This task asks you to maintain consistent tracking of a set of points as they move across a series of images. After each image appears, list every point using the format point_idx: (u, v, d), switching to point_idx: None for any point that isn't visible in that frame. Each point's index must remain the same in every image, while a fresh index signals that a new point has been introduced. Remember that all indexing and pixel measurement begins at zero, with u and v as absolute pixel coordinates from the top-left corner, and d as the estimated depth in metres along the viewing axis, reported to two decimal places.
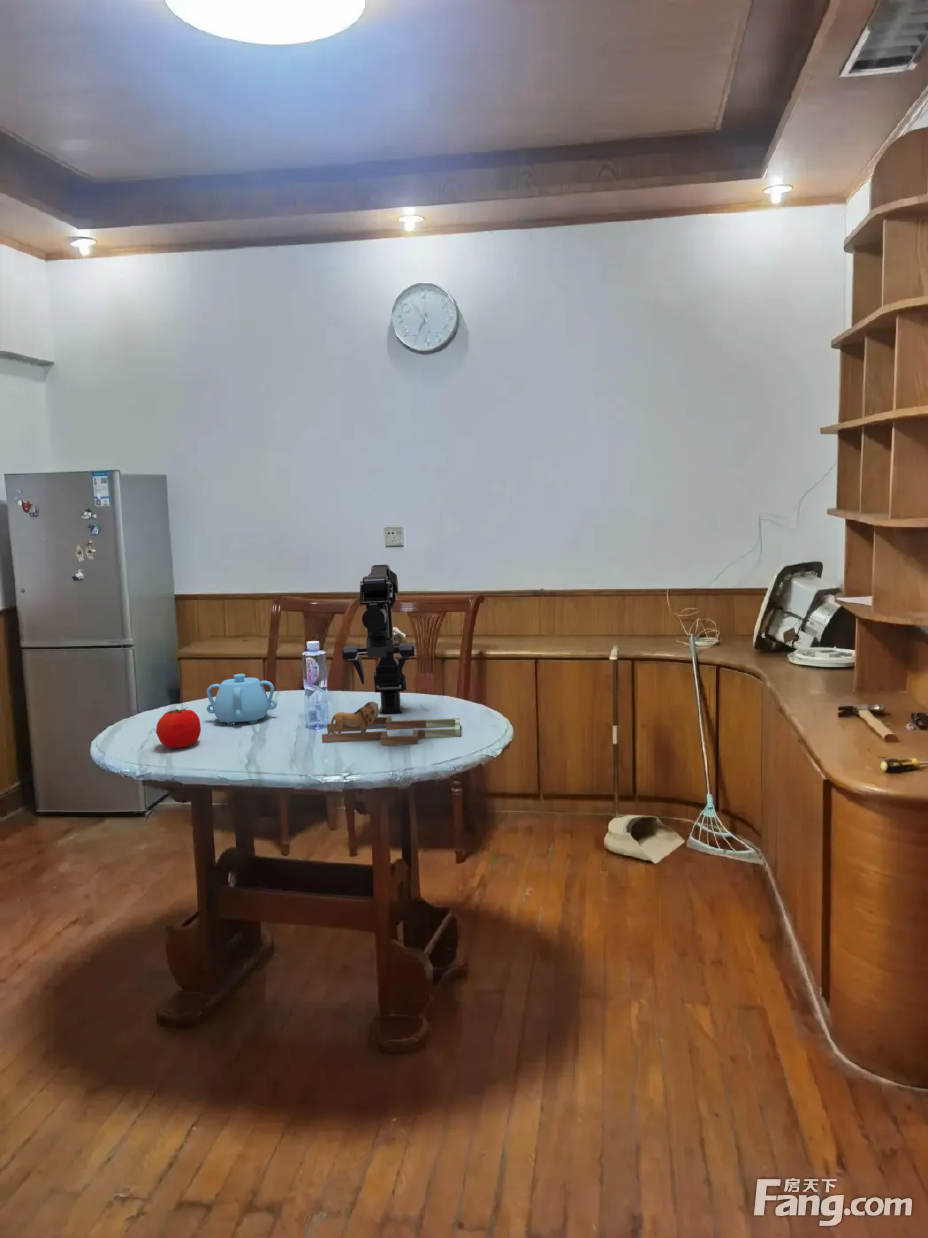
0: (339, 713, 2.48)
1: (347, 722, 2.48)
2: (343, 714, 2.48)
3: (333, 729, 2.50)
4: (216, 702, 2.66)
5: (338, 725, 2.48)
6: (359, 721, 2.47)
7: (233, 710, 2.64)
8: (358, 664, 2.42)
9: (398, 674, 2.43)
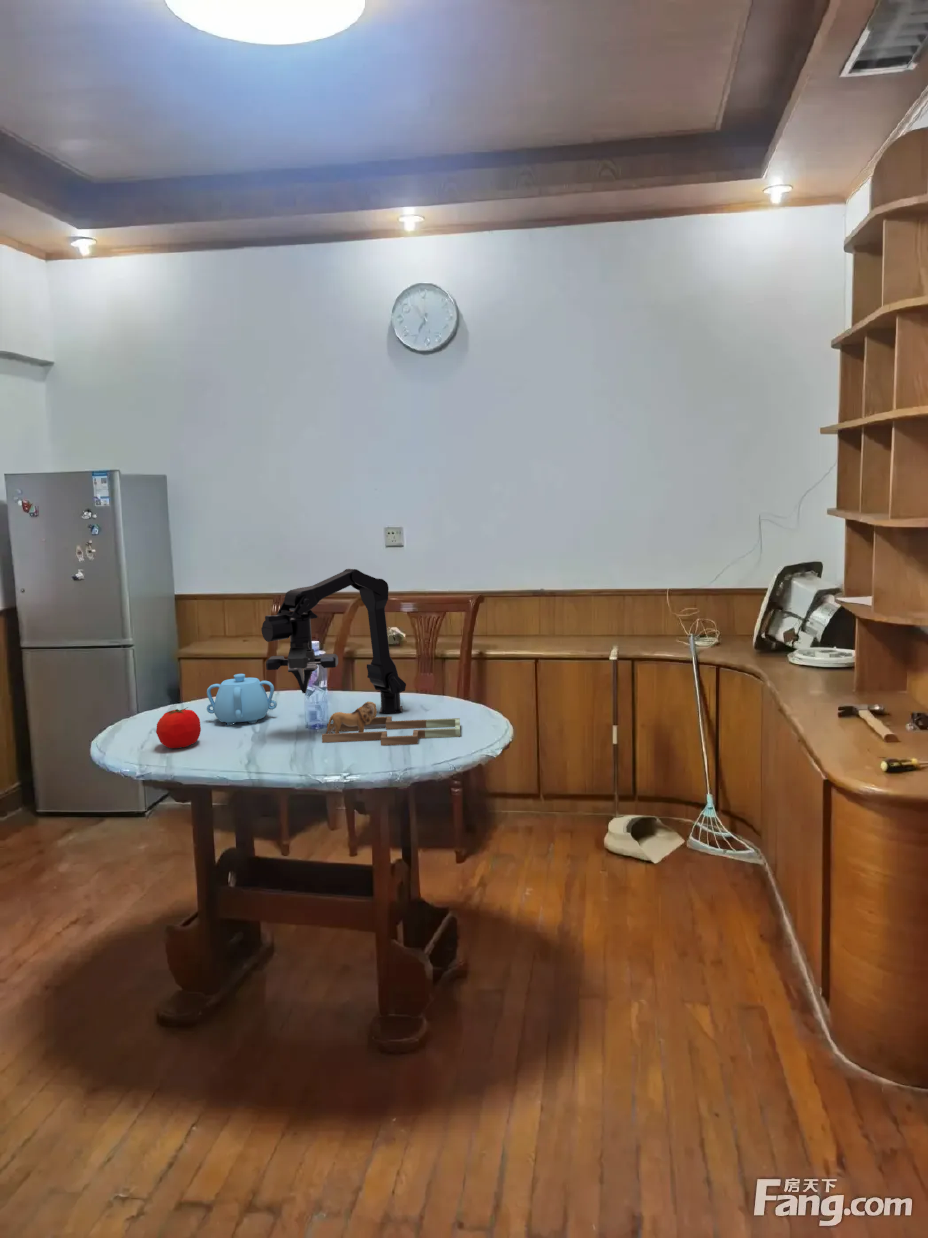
0: (337, 713, 2.48)
1: (345, 722, 2.48)
2: (341, 714, 2.47)
3: (331, 729, 2.50)
4: (216, 702, 2.66)
5: (336, 725, 2.48)
6: (356, 721, 2.47)
7: (233, 710, 2.64)
8: (298, 674, 2.51)
9: (304, 685, 2.52)
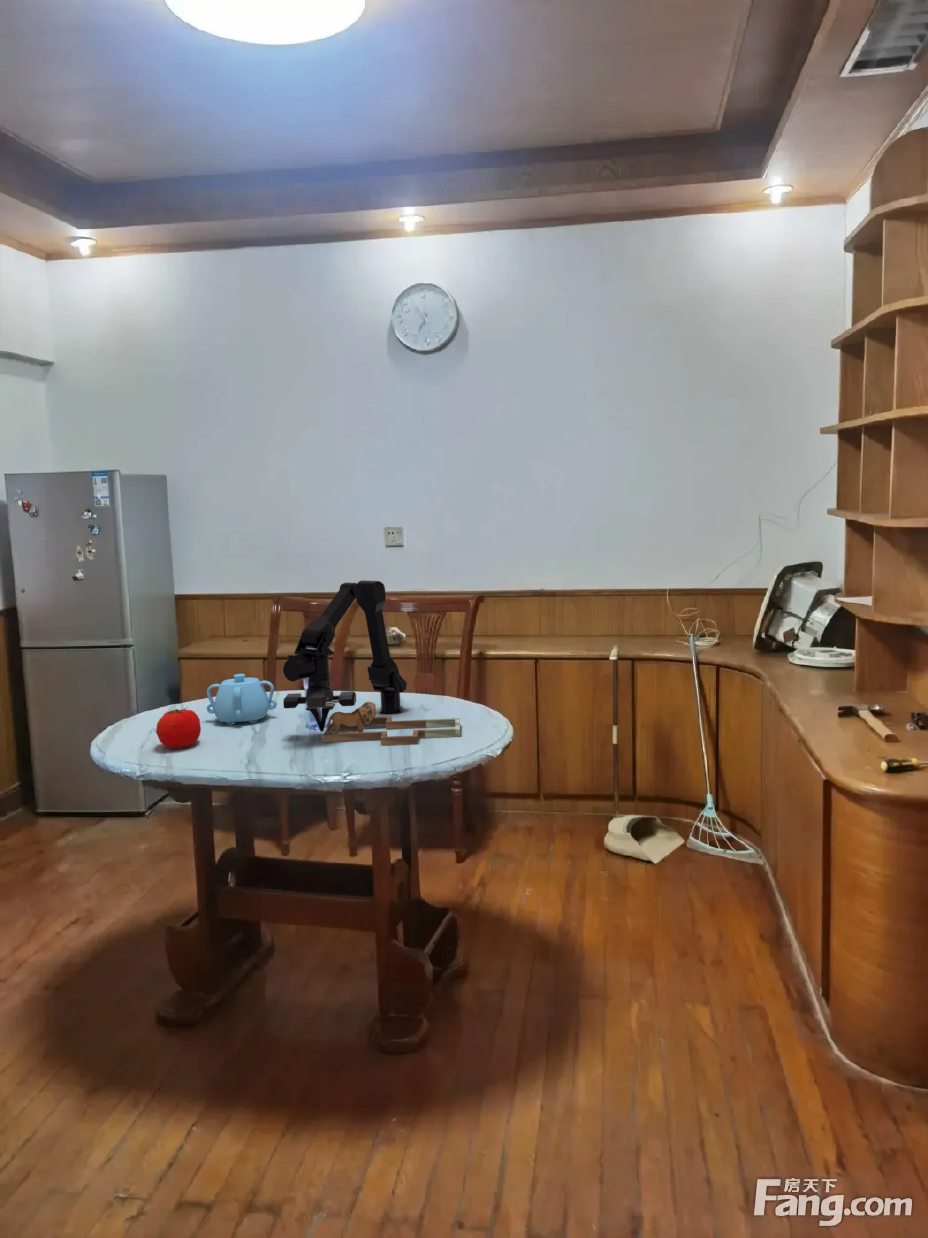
0: (336, 713, 2.48)
1: (344, 722, 2.47)
2: (340, 714, 2.47)
3: (330, 729, 2.50)
4: (216, 702, 2.66)
5: (335, 725, 2.47)
6: (356, 721, 2.47)
7: (233, 710, 2.64)
8: (316, 712, 2.47)
9: (322, 723, 2.48)
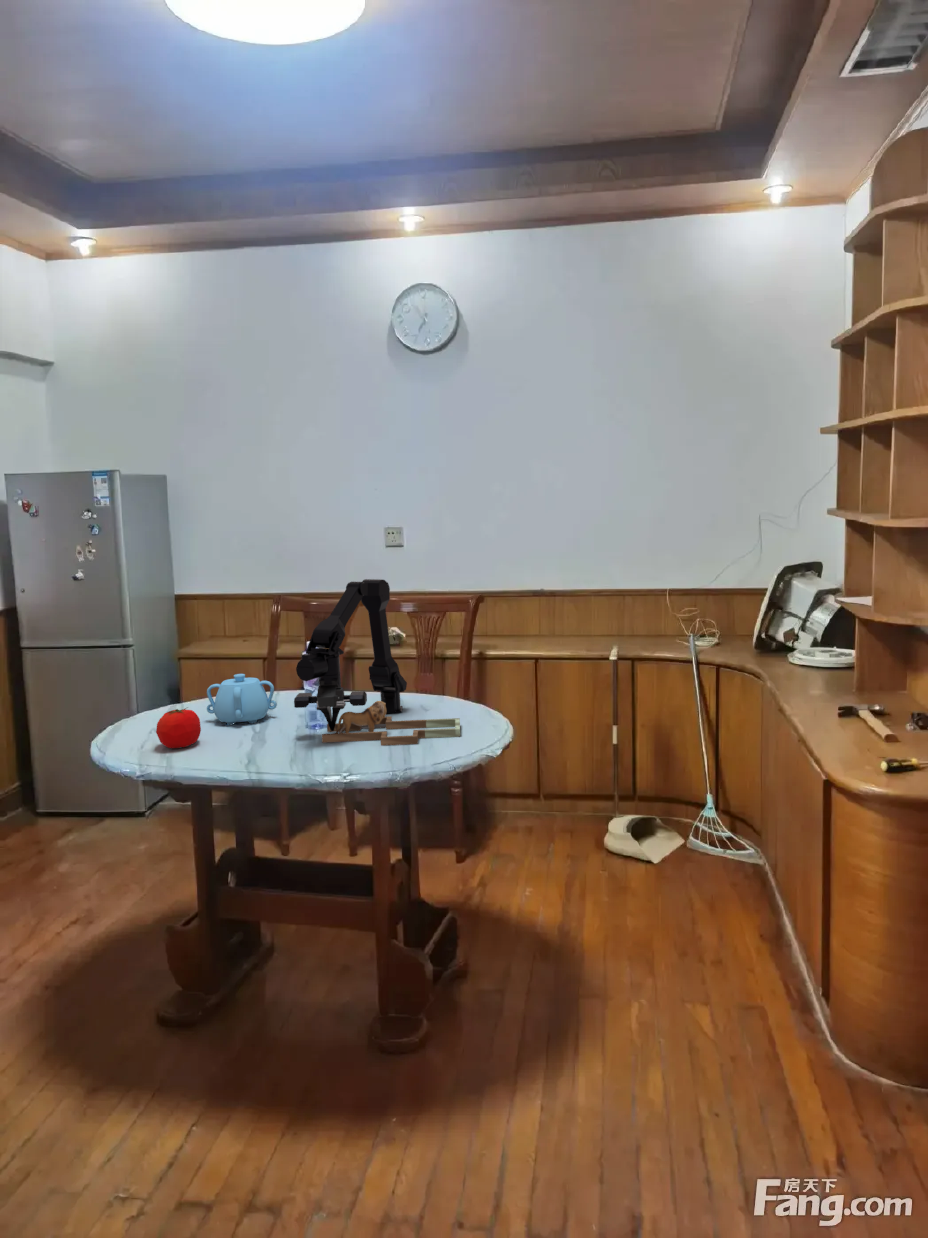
0: (347, 713, 2.48)
1: (355, 722, 2.47)
2: (351, 714, 2.47)
3: (340, 729, 2.50)
4: (216, 702, 2.66)
5: (346, 725, 2.47)
6: (366, 721, 2.47)
7: (233, 710, 2.64)
8: (327, 712, 2.47)
9: (332, 723, 2.48)
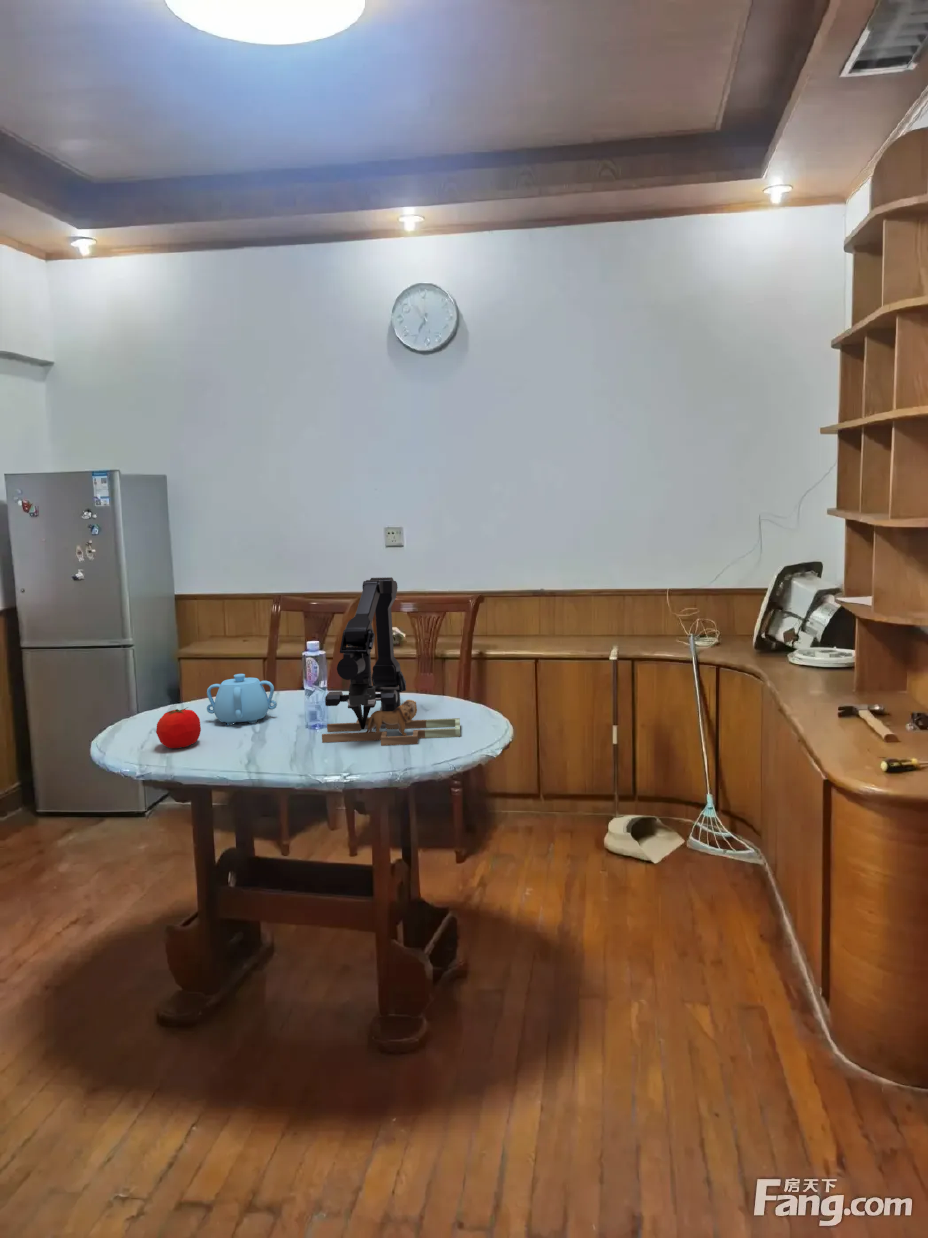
0: (377, 711, 2.48)
1: (386, 720, 2.47)
2: (382, 712, 2.47)
3: (371, 728, 2.50)
4: (216, 702, 2.66)
5: (377, 724, 2.47)
6: (397, 719, 2.47)
7: (233, 710, 2.64)
8: (358, 710, 2.47)
9: (363, 721, 2.48)
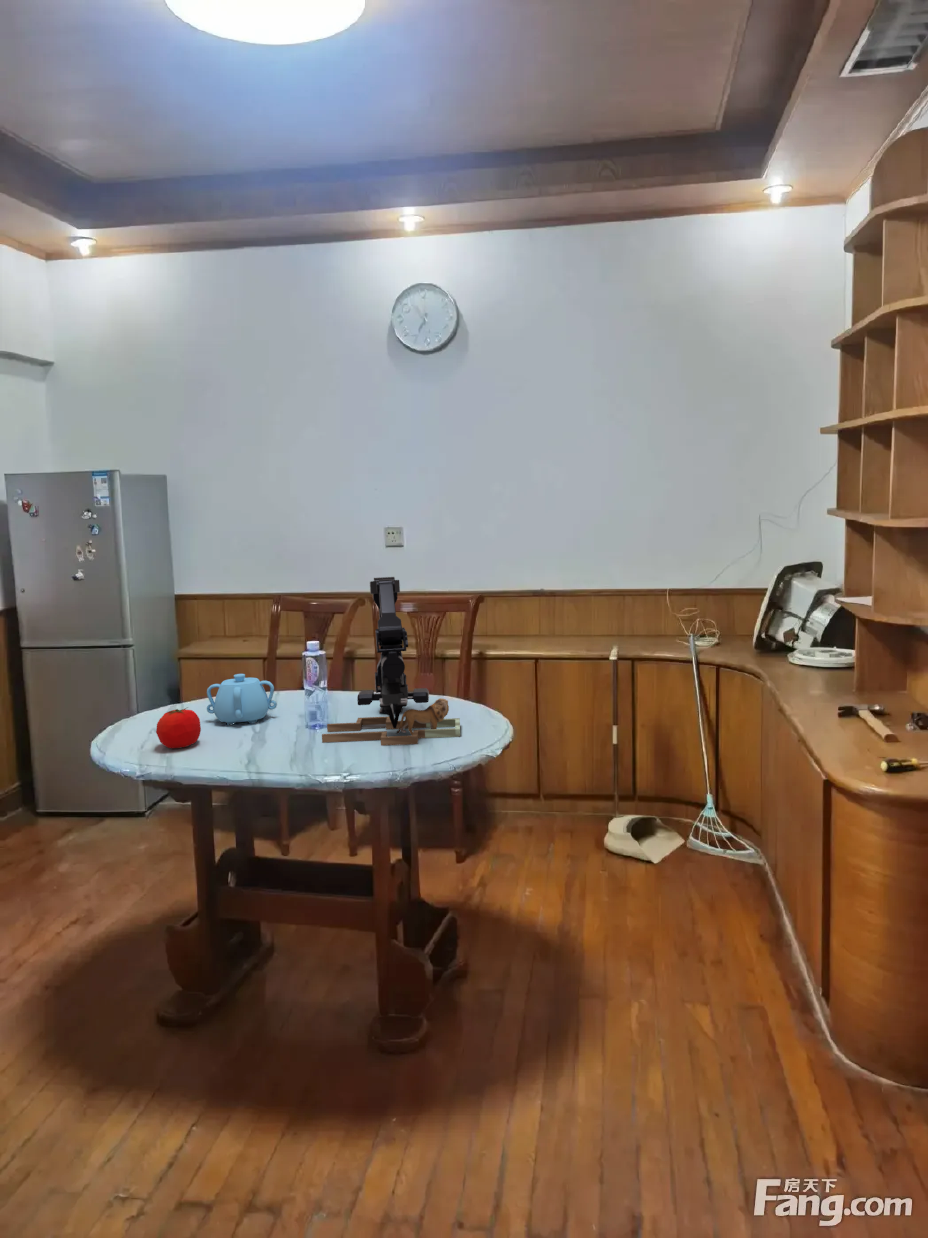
0: (410, 710, 2.48)
1: (418, 719, 2.47)
2: (414, 711, 2.47)
3: (403, 726, 2.50)
4: (216, 702, 2.66)
5: (409, 722, 2.47)
6: (430, 718, 2.47)
7: (233, 710, 2.64)
8: (390, 709, 2.47)
9: (395, 720, 2.48)
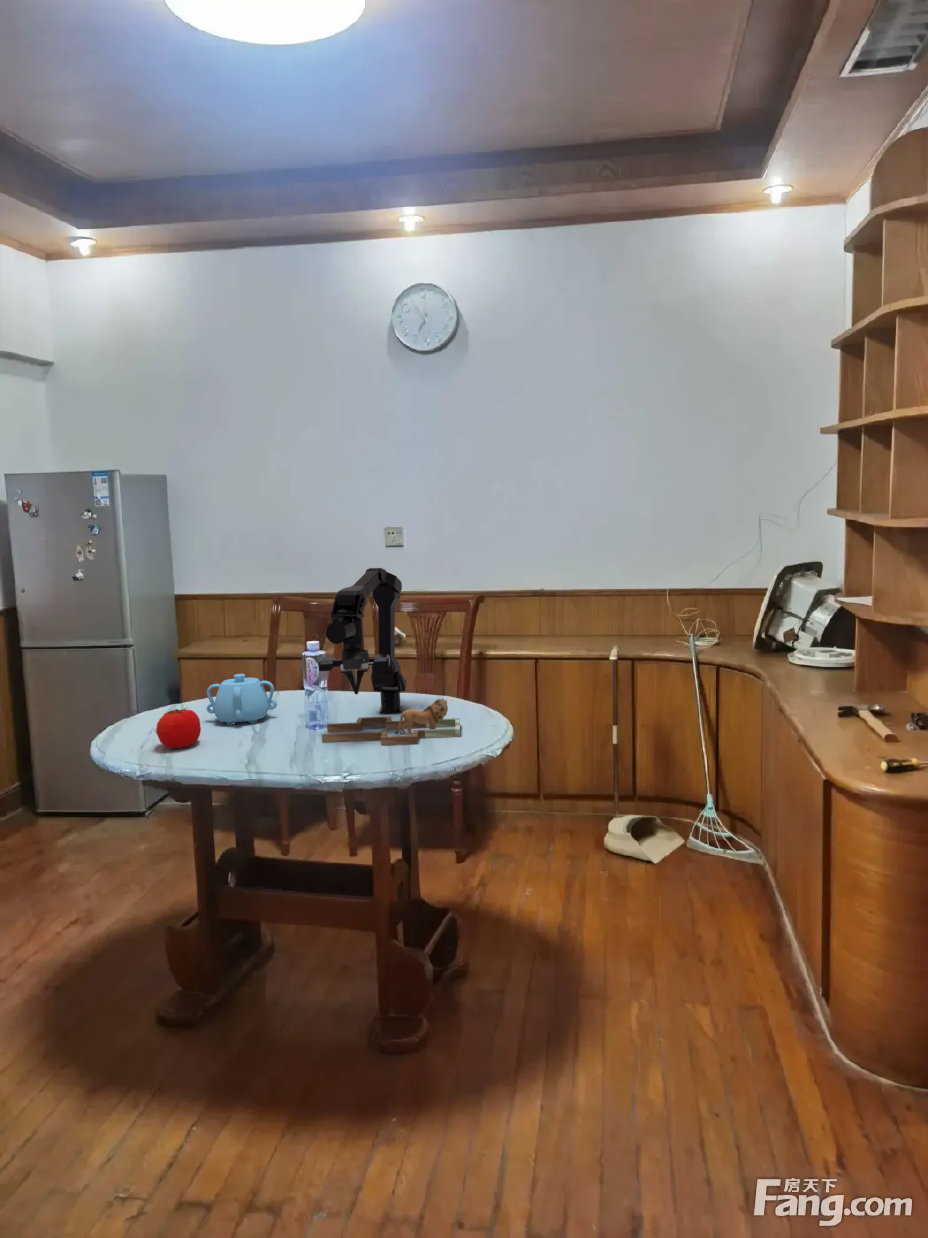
0: (409, 710, 2.48)
1: (417, 719, 2.47)
2: (413, 711, 2.47)
3: (402, 727, 2.50)
4: (216, 702, 2.66)
5: (408, 722, 2.47)
6: (428, 718, 2.47)
7: (233, 710, 2.64)
8: (351, 675, 2.48)
9: (357, 686, 2.50)
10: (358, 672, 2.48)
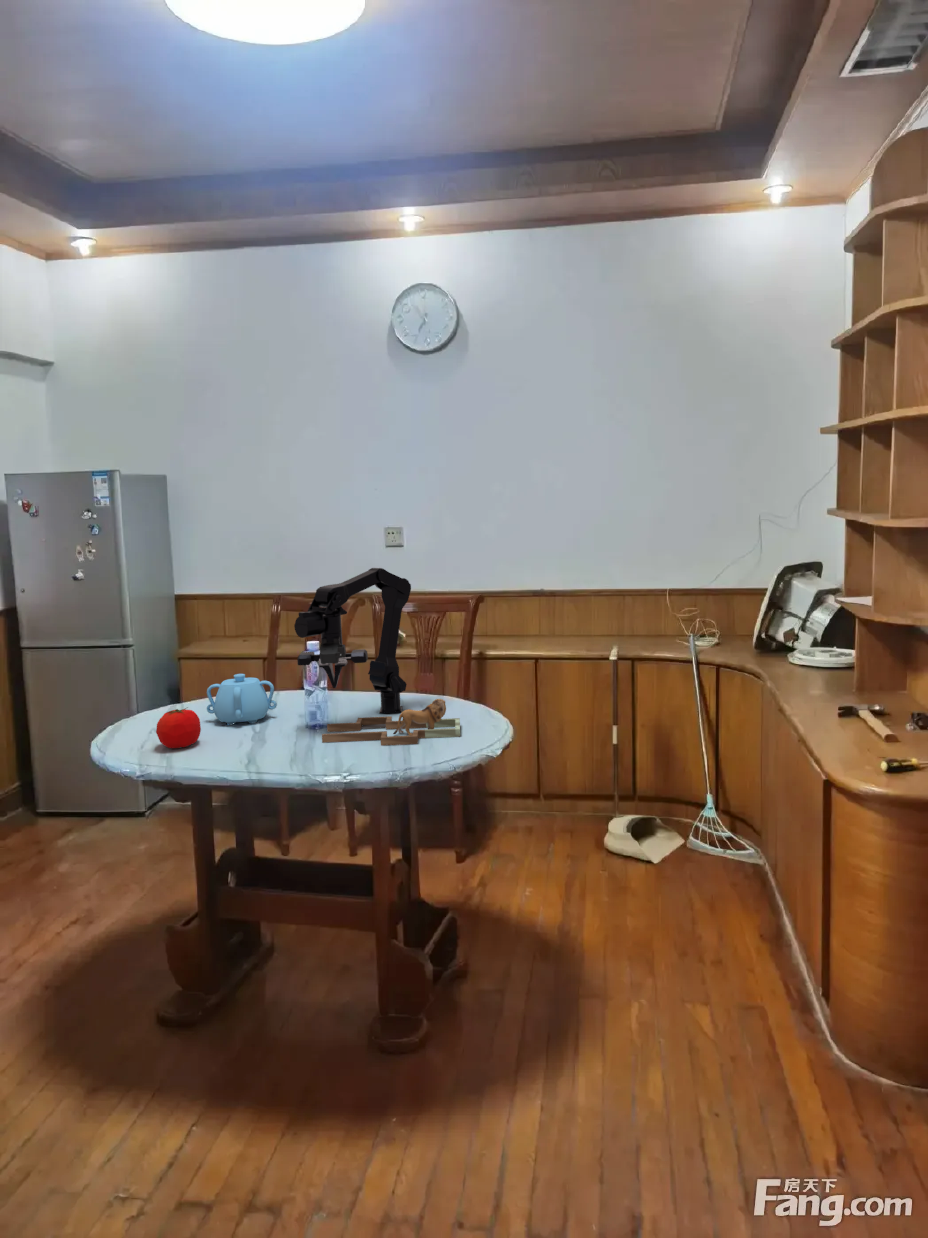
0: (407, 711, 2.48)
1: (415, 719, 2.47)
2: (411, 711, 2.47)
3: (400, 727, 2.50)
4: (216, 702, 2.66)
5: (406, 723, 2.47)
6: (427, 718, 2.47)
7: (233, 710, 2.64)
8: (329, 669, 2.56)
9: (335, 680, 2.57)
10: (336, 666, 2.55)
